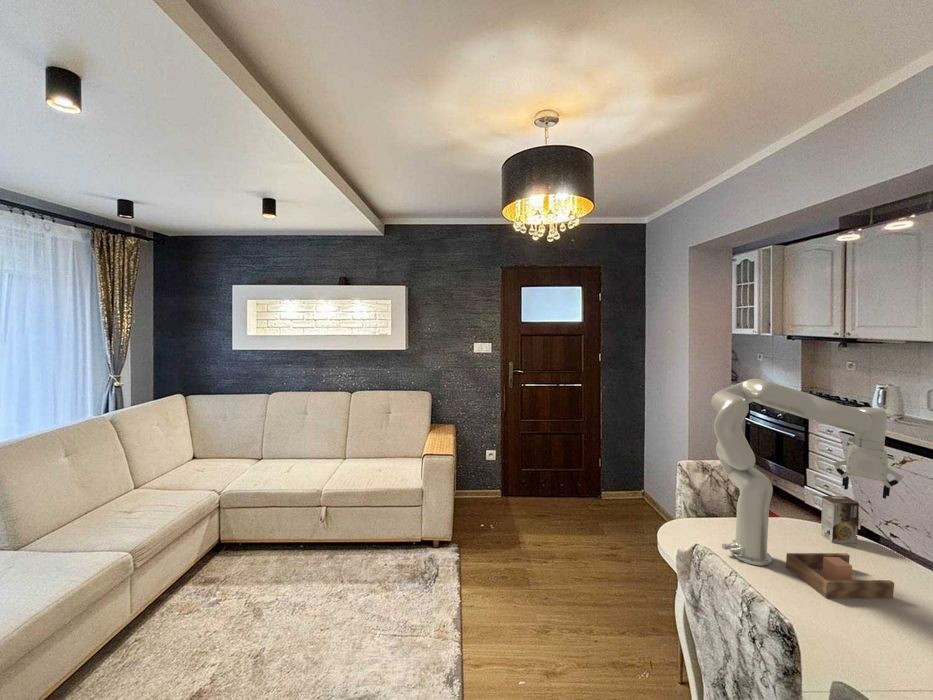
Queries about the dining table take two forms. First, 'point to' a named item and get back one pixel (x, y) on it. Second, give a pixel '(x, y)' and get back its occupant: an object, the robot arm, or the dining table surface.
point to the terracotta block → (836, 569)
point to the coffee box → (839, 519)
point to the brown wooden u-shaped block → (835, 588)
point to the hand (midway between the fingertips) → (864, 492)
